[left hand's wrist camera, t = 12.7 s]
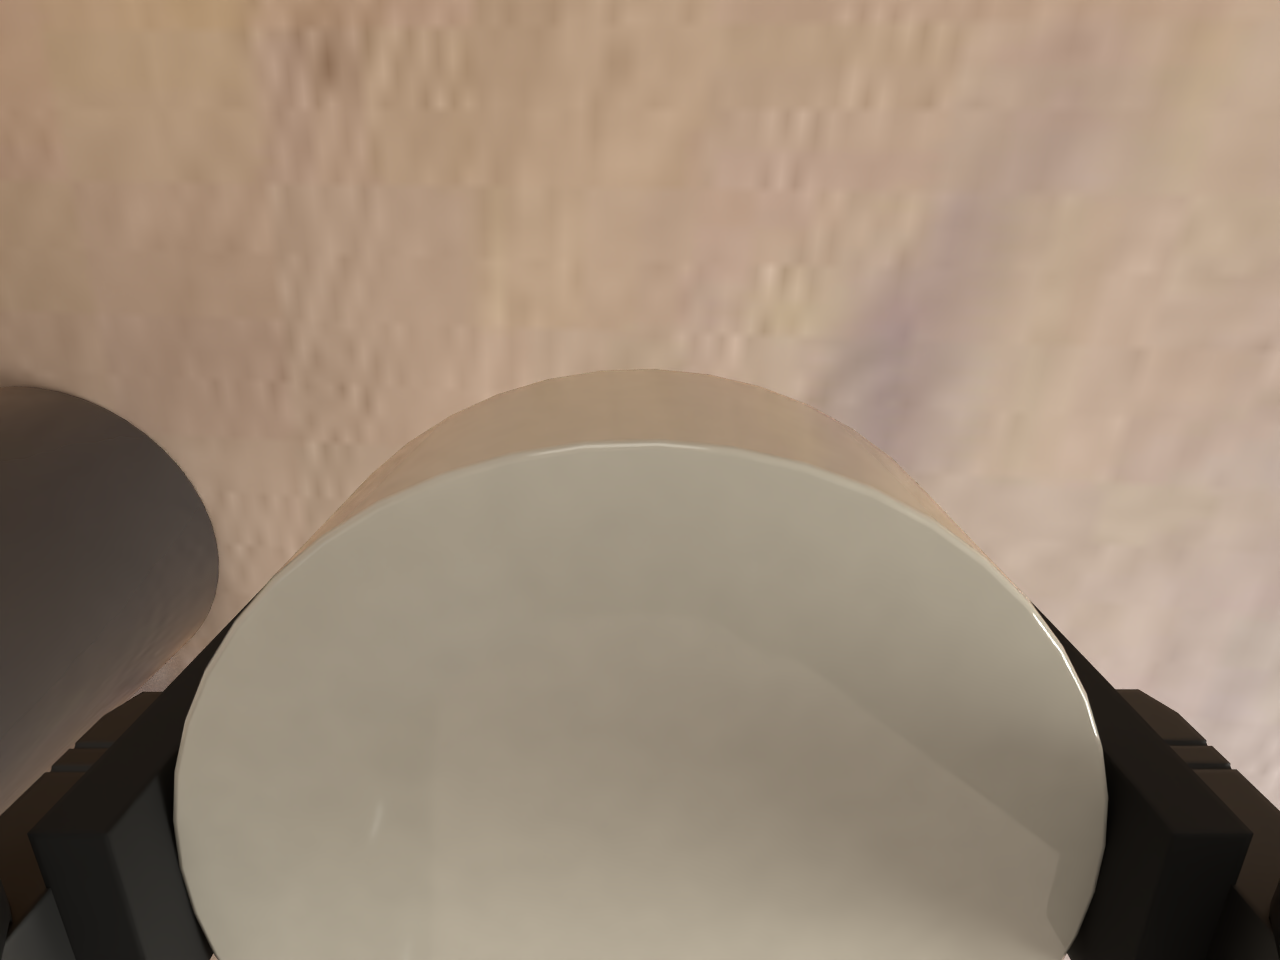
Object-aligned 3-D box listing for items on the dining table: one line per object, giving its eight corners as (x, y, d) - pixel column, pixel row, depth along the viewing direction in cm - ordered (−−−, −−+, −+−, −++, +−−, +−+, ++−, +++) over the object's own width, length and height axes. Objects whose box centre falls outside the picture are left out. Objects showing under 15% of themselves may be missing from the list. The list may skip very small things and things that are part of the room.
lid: (500, 203, 9) (434, 207, 6) (1140, 612, 11) (1322, 763, 8) (187, 795, 12) (44, 986, 9) (731, 1035, 14) (754, 1256, 11)
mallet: (-152, 385, 21) (-705, 520, 12) (184, 385, 21) (-139, 522, 12) (78, 1010, 29) (-154, 1346, 21) (317, 1012, 29) (181, 1350, 21)
